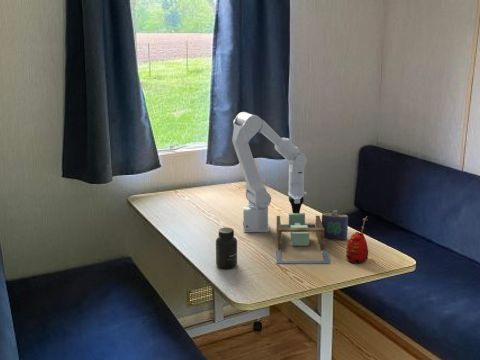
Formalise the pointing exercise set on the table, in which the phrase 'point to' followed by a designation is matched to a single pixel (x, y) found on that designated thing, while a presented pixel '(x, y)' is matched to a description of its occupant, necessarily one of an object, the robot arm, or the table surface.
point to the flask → (335, 226)
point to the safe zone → (325, 255)
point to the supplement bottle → (226, 249)
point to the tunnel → (318, 230)
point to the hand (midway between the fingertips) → (295, 215)
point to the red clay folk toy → (357, 247)
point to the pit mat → (305, 224)
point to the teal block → (298, 222)
